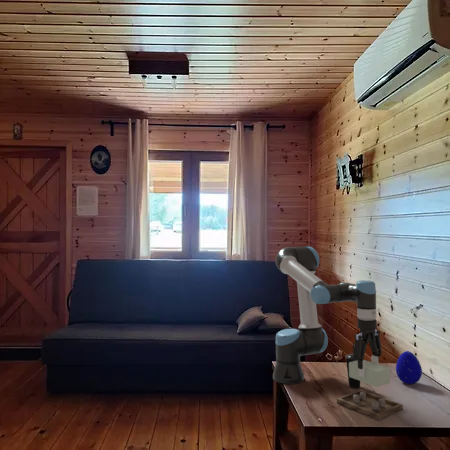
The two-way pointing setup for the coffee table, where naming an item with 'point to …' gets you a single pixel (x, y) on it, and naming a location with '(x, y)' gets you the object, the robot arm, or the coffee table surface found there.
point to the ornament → (408, 368)
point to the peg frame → (370, 404)
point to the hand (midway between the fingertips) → (368, 374)
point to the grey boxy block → (371, 373)
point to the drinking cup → (352, 382)
